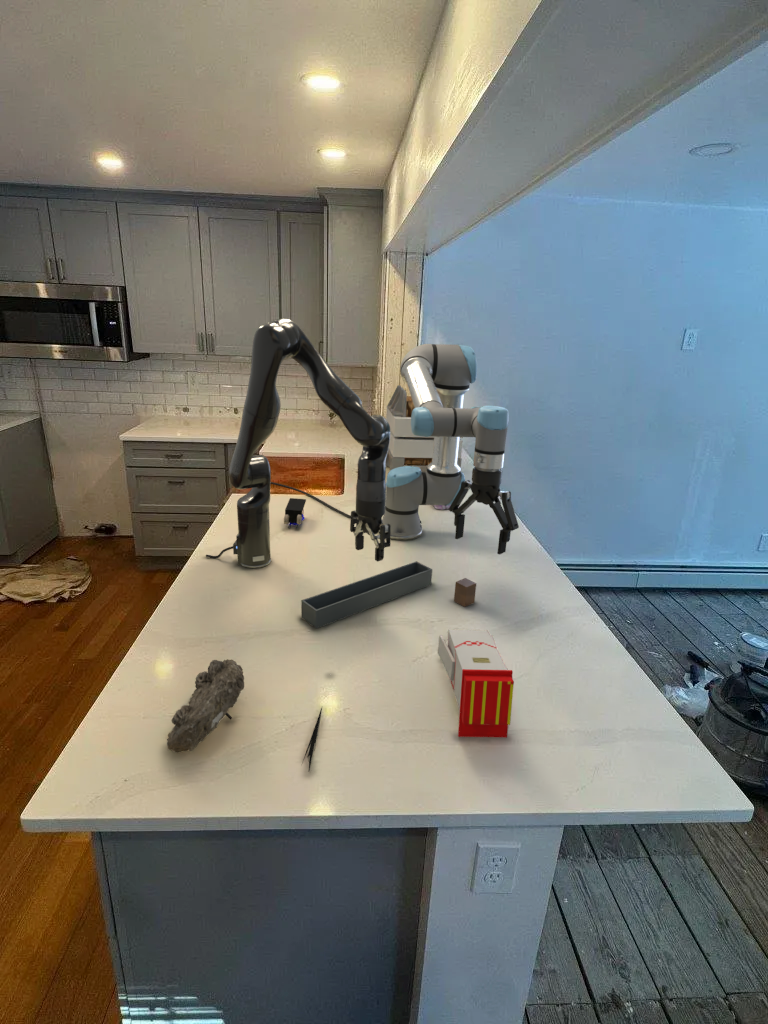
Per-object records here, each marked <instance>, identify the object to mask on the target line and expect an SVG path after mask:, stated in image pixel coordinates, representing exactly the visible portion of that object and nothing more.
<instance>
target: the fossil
mask: <svg viewBox="0 0 768 1024" xmlns="http://www.w3.org/2000/svg"><path fill="white" fill-rule="evenodd" d="M243 670H244V669H243V667H242V665H240V664H237V662H236V661H235V660H234V659H232V658H231V659H227V658H226V659H224V660H223V661H222V660H217V659H212V660H211V661H210V663H209V665H208V666H207V671H201V672H199V673H198V674H197V675H196V676H195V680H194V684H195V685H194V687H195V689H194V690H193V693H192V694H191V697H190V698H189V700H188V704H184V705H182V706H181V707H180V709H177V710H176V711H175V713H174V715H173V716H172V718H171V723H172V724H173V727H172V730H171V731H170V732H168V734H167V738H166V741H167V742H166V745H167V749H168V750H169V751H173V752H174V753H176V754H178V753H182V752H188V751H189V752H192V751H193V750H195V748H196V747H197V746H199V744H200V743H201V742H203V741H204V740H205V739H206V738H207V737H208V736H209V735H210V734H211V733H212V732H214V730H215V729H217V727H218V726H219V724H220V722H221V721H222V720H223V719H224V718H225V716H226V717H227V719H229V720H233V717H232V715H230V714H229V710H230V709H231V708H234V706H235V704H236V703H237V702H238V699H239V697H240V695H241V693H242V691H243V690H245V689H244V688H245V675H244V671H243Z"/></svg>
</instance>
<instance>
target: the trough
mask: <svg viewBox="0 0 768 1024" xmlns="http://www.w3.org/2000/svg"><path fill="white" fill-rule="evenodd" d="M432 577H433V568H431V567H429V566H427V565H425V564H423V563H421V562H418V561H413V562H410V563H408V564H404V565H401V566H398V567H395V568H392V569H390V570H386V571H384V572H380V573H378V574H375V575H372V576H369V577H366V578H363V579H360V580H356V581H353V582H350V583H348V584H345V585H342V586H339V587H336V588H334V589H331V590H328V591H324V592H321V593H319V594H316V595H315V594H314V595H313V596H309V597H307V598H304V599H301V600H300V602H301V603H300V605H301V607H300V608H301V609H300V610H301V613H300V615H301V619H302V620H304V621H305V622H306V623H308V624H309V625H310V626H312V627H313V628H314V629H320V628H322V627H325V626H327V625H330V624H332V623H335V622H338V621H341V620H343V619H345V618H348V617H351V616H353V615H355V614H359V613H361V612H363V611H366V610H369V609H371V608H374V607H377V606H380V605H382V604H385V603H388V602H390V601H392V600H395V599H397V598H400V597H403V596H405V595H408V594H410V593H413V592H416V591H418V590H421V589H423V588H426V587H430V586H432V580H433V578H432Z"/></svg>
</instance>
